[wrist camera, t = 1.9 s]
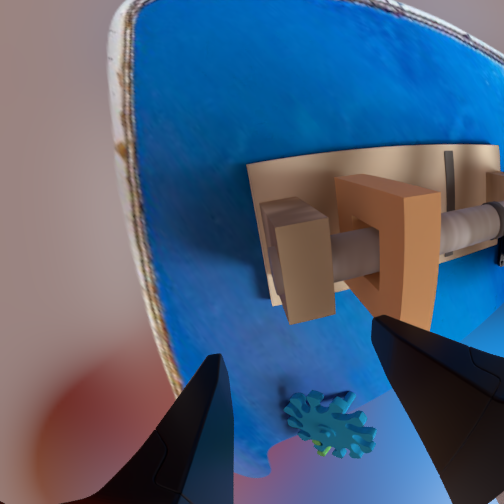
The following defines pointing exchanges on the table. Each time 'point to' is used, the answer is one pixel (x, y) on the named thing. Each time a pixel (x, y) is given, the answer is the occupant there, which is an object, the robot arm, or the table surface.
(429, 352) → the robot arm
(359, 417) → the gear
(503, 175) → the pipe rig
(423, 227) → the collar
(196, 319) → the table surface
